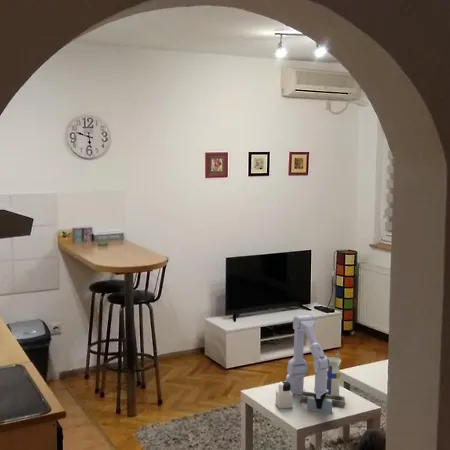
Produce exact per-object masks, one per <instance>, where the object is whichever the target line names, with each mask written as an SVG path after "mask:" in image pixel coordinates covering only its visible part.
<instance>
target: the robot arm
mask: <svg viewBox="0 0 450 450" xmlns="http://www.w3.org/2000/svg"><path fill="white" fill-rule="evenodd" d="M315 327H316V322H315V317H314V316H313V314H307V315H306V314H305V315H295V316H294V317H293V319H292V329H293V330H294V334H293V335H294V337H293V357H292V358H290V360H288V363H287V368H286V372H287V374H286V377H285V382H289V383H290V384H291V389H290V391H291V393H292V394H293V395H298V396H299V395H300V396H301V393H302V391H304V392H306V391H305V390H306V389H305V388H304V382H305V379H304V378H305V377H306V375H307V374H308V363H307V362H308V361H306V360H305V359H304V348H305V347H304V346H305V344H304V343H305V342H304V341H305V335H306V337H307V339H308V341H309V343H310V347H309V349H310V352H311V355H312V358H313V363H312V365H313V370H314V371H313V372H314V373H315V374H314V389H313V390H314V392H313V393H315V394H314V399H315V401H316V407H317V409H321V408H322V403H323V400H324V398H325V395H326V393H327V392H328V390H326V380H327V368H329V365H330V363H329V359H328V358H329V357H328V356H327V355H326V354H325V352H324V350H323V347H322V345H321V344H320V343H319V342H318V340H317V335H316V331H315Z"/></svg>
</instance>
